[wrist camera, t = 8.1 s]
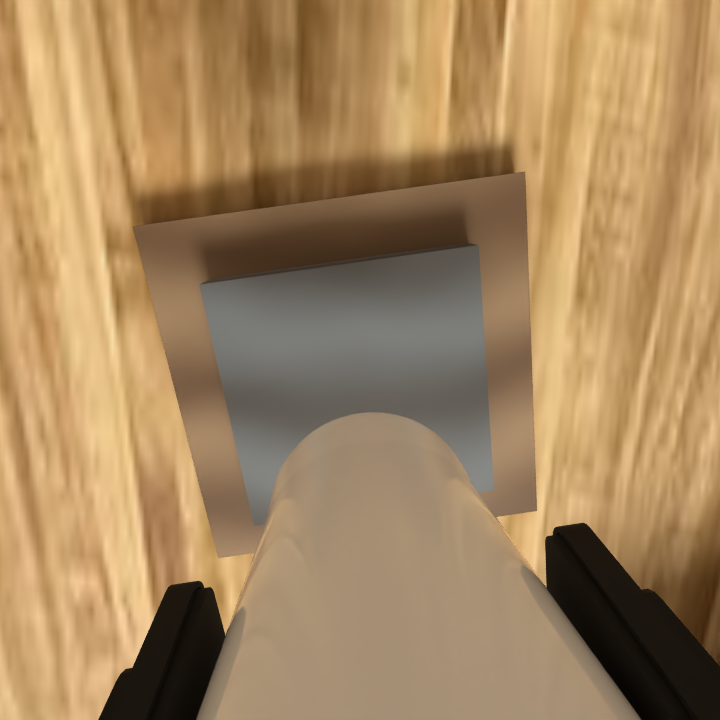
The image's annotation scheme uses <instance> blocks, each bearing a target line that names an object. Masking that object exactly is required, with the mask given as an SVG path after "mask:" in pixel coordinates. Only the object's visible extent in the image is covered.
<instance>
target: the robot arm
mask: <svg viewBox="0 0 720 720" xmlns="http://www.w3.org/2000/svg"><path fill="white" fill-rule="evenodd" d="M545 550H546V581H547V589H548V591H549V592H550V593H551V595H552V596H553V598H554V599H555V600H556V602H557V603H558V604H559V606H560V607H561V609H562V610H563V611H564V613H565V614H566V616H567V617H568V618H569V620H570V621H571V622H572V624H573V625H574V627H575V628H576V629H577V631H578V632H579V634H580V635H581V636H582V638H583V639H584V640H585V642H586V643H587V645H588V646H589V647H590V649H591V650H592V651H593V653H594V654H595V656H596V657H597V658H598V660H599V661H600V662H601V664H602V665H603V667H604V668H605V669H606V671H607V672H608V673H609V675H610V676H611V678H612V679H613V680H614V682H615V683H616V684H617V686H618V687H619V689H620V690H621V691H622V693H623V694H624V695H625V697H626V698H627V700H628V701H629V702H630V704H631V705H632V706H633V708H634V709H635V711H636V712H637V713H638V715H639V716H640V717H641V719H642V720H720V666H719V665H718V664H717V663H716V662H715V661H714V659H713V658H712V657H711V656H710V655H709V654H708V652H707V651H706V650H705V649H704V648H703V647H702V645H701V644H700V643H699V642H698V641H697V640H696V638H695V637H694V636H693V635H692V634H691V633H690V631H689V630H688V629H687V628H686V627H685V626H684V624H683V623H682V622H681V621H680V620H679V619H678V617H677V616H676V615H675V614H674V613H673V612H672V610H671V609H670V608H669V607H668V606H667V605H666V603H665V602H664V601H663V600H662V599H661V598H660V597H659V596H658V595H657V594H656V593H655V592H653V591H651V590H649V589H644V590H641V589H640V588H639V586H638V585H637V584H636V583H635V582H634V580H633V579H632V578H631V577H630V576H629V574H628V573H627V572H626V571H625V570H624V568H623V567H622V566H621V565H620V563H619V562H618V561H617V560H616V559H615V557H614V556H613V555H612V554H611V553H610V551H609V550H608V549H607V548H606V547H605V545H604V544H603V543H602V542H601V540H600V539H599V538H598V537H597V536H596V534H595V533H594V532H593V531H592V530H591V528H590V527H589V526H588V525H587V524H585V523H579V524H572V525H566V526H559V527H555V528H554V531H553V535H552V536H547V537H546V539H545ZM224 639H225V632H224V629H223V625H222V621H221V617H220V614H219V610H218V606H217V602H216V598H215V595H214V591H213V589H212V588H211V587H208V588H204V586H203V584H202V582H201V581H195V582H188V583H181V584H175V585H171V586H169V587H168V589H167V590H166V592H165V595H164V597H163V599H162V601H161V604H160V606H159V608H158V611H157V613H156V615H155V617H154V620H153V622H152V624H151V627H150V629H149V631H148V633H147V636H146V638H145V640H144V643H143V645H142V647H141V649H140V652H139V654H138V656H137V659H136V661H135V663H134V665H133V668H129V669H125V670H124V671H123V672H122V673H121V674H120V676H119V677H118V679H117V681H116V683H115V685H114V687H113V689H112V691H111V693H110V696H109V698H108V700H107V702H106V704H105V707H104V709H103V711H102V713H101V715H100V717H99V720H196V717H197V714H198V712H199V709H200V706H201V703H202V700H203V698H204V695H205V692H206V689H207V686H208V684H209V681H210V678H211V675H212V672H213V670H214V667H215V664H216V661H217V658H218V656H219V653H220V650H221V647H222V644H223V642H224Z"/></svg>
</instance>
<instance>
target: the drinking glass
mask: <svg viewBox="0 0 720 720" xmlns="http://www.w3.org/2000/svg"><path fill="white" fill-rule="evenodd" d="M196 720H642V719H641V717H640V716H639V715H638V713H637V712H636V711H635V709H634V708H633V706H632V705H631V704H630V702H629V701H628V700H627V698H626V697H625V695H624V694H623V693H622V691H621V690H620V689H619V687H618V686H617V684H616V683H615V682H614V680H613V679H612V678H611V676H610V675H609V673H608V672H607V671H606V669H605V668H604V667H603V665H602V664H601V662H600V661H599V660H598V658H597V657H596V656H595V654H594V653H593V651H592V650H591V649H590V647H589V646H588V645H587V643H586V642H585V640H584V639H583V638H582V636H581V635H580V634H579V632H578V631H577V629H576V628H575V627H574V625H573V624H572V622H571V621H570V620H569V618H568V617H567V616H566V614H565V613H564V611H563V610H562V609H561V607H560V606H559V604H558V603H557V602H556V600H555V599H554V598H553V596H552V595H551V593H550V592H549V591H548V589H547V588H546V587H545V585H544V584H543V582H542V581H541V580H540V578H539V577H538V575H537V574H536V573H535V571H534V570H533V568H532V567H531V566H530V564H529V563H528V561H527V560H526V559H525V557H524V556H523V555H522V553H521V552H520V550H519V549H518V548H517V546H516V545H515V543H514V542H513V541H512V539H511V538H510V536H509V535H508V534H507V532H506V531H505V529H504V528H503V527H502V525H501V524H500V522H499V521H498V519H497V518H496V517H495V515H494V514H493V512H492V511H491V510H490V508H489V507H488V505H487V504H486V502H485V501H484V500H483V498H482V497H481V495H480V494H479V492H478V491H477V490H476V488H475V486H474V484H473V482H472V480H471V479H470V477H469V475H468V473H467V471H466V469H465V467H464V466H463V464H462V462H461V461H460V459H459V457H458V456H457V454H456V453H455V452H454V450H453V449H452V448H451V447H450V445H449V444H448V443H447V442H446V441H445V440H444V439H443V438H442V437H440V436H439V435H438V434H437V433H436V432H434V431H433V430H431V429H430V428H428V427H427V426H425V425H423V424H421V423H419V422H417V421H415V420H412V419H410V418H407V417H404V416H400V415H396V414H391V413H382V412H367V413H358V414H352V415H348V416H344V417H340V418H338V419H335V420H332V421H330V422H328V423H326V424H324V425H322V426H320V427H319V428H317V429H315V430H314V431H312V432H311V433H310V434H308V435H307V436H306V437H305V438H303V439H302V440H301V441H300V442H299V443H298V444H297V445H296V446H295V447H294V449H293V450H292V451H291V452H290V454H289V455H288V456H287V458H286V459H285V461H284V463H283V464H282V466H281V468H280V470H279V472H278V474H277V477H276V480H275V483H274V486H273V490H272V494H271V499H270V503H269V508H268V513H267V518H266V521H265V524H264V527H263V530H262V533H261V536H260V539H259V542H258V545H257V548H256V551H255V554H254V557H253V559H252V562H251V565H250V568H249V571H248V574H247V577H246V579H245V582H244V585H243V588H242V591H241V594H240V596H239V599H238V602H237V605H236V608H235V611H234V614H233V616H232V619H231V622H230V625H229V628H228V630H227V633H226V636H225V639H224V642H223V644H222V647H221V650H220V653H219V656H218V658H217V661H216V664H215V667H214V670H213V672H212V675H211V678H210V681H209V684H208V686H207V689H206V692H205V695H204V698H203V700H202V703H201V706H200V709H199V712H198V714H197V717H196Z"/></svg>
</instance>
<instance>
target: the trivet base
mask: <svg viewBox="0 0 720 720" xmlns="http://www.w3.org/2000/svg"><path fill="white" fill-rule="evenodd" d="M133 229H134V233H135V237H136V241H137V244H138V248H139V252H140V256H141V260H142V264H143V268H144V272H145V276H146V279H147V283H148V287H149V291H150V295H151V299H152V303H153V307H154V310H155V314H156V318H157V322H158V326H159V330H160V334H161V338H162V342H163V345H164V349H165V353H166V357H167V361H168V365H169V369H170V373H171V376H172V380H173V384H174V388H175V392H176V396H177V400H178V404H179V408H180V411H181V415H182V419H183V423H184V427H185V431H186V435H187V439H188V442H189V446H190V450H191V454H192V458H193V462H194V466H195V470H196V474H197V477H198V481H199V485H200V489H201V493H202V497H203V501H204V505H205V508H206V512H207V516H208V520H209V524H210V528H211V532H212V536H213V540H214V543H215V547H216V551H217V555H218V558H223V557H229V556H236V555H243V554H249V553H255V551H256V548H257V545H258V542H259V539H260V536H261V533H262V530H263V527H264V524H265V521H266V518H267V513H268V508H269V503H270V499H271V494H272V490H273V486H274V483H275V480H276V477H277V474H278V472H279V470H280V468H281V466H282V464H283V463H284V461H285V459H286V458H287V456H288V455H289V454H290V452H291V451H292V450H293V449H294V447H295V446H296V445H297V444H298V443H299V442H300V441H301V440H302V439H303V438H305V437H306V436H307V435H308V434H310V433H311V432H312V431H314V430H315V429H317V428H319V427H320V426H322V425H324V424H326V423H328V422H330V421H332V420H335V419H338V418H340V417H344V416H348V415H352V414H358V413H367V412H382V413H391V414H396V415H400V416H404V417H407V418H410V419H412V420H415V421H417V422H419V423H421V424H423V425H425V426H427V427H428V428H430V429H431V430H433V431H434V432H436V433H437V434H438V435H439V436H440V437H442V438H443V439H444V440H445V441H446V442H447V443H448V444H449V445H450V447H451V448H452V449H453V450H454V452H455V453H456V454H457V456H458V457H459V459H460V461H461V462H462V464H463V466H464V467H465V469H466V471H467V473H468V475H469V477H470V479H471V480H472V482H473V484H474V486H475V488H476V490H477V491H478V492H479V494H480V495H481V497H482V498H483V500H484V501H485V502H486V504H487V505H488V507H489V508H490V510H491V511H492V512H493V514H494V515H495V517H498V516H505V515H512V514H519V513H525V512H532V511H537V499H536V470H535V441H534V413H533V384H532V355H531V327H530V298H529V269H528V240H527V212H526V183H525V172H519V173H512V174H505V175H498V176H491V177H483V178H476V179H469V180H462V181H455V182H448V183H440V184H433V185H426V186H419V187H412V188H405V189H397V190H390V191H383V192H376V193H369V194H362V195H354V196H347V197H340V198H333V199H326V200H318V201H311V202H304V203H297V204H290V205H283V206H275V207H268V208H261V209H254V210H247V211H240V212H232V213H225V214H218V215H211V216H204V217H197V218H189V219H182V220H175V221H168V222H161V223H153V224H146V225H139V226H133Z"/></svg>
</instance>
